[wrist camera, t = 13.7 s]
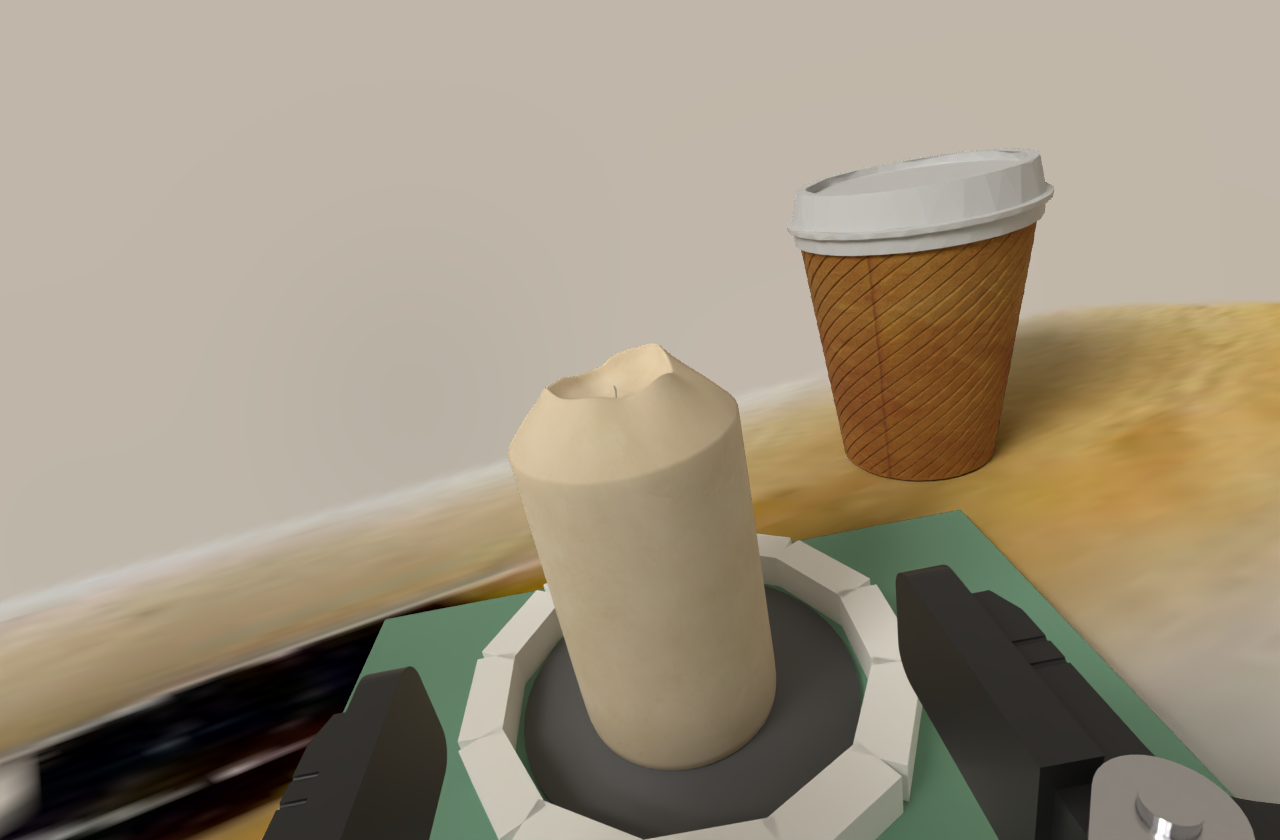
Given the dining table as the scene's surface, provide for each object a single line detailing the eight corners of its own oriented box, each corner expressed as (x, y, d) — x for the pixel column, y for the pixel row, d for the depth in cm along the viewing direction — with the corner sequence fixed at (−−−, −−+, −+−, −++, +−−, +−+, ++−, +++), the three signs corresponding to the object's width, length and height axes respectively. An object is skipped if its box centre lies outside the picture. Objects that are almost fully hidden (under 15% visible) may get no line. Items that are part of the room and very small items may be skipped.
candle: (676, 599, 22) (616, 320, 18) (817, 669, 19) (780, 335, 15) (550, 706, 19) (445, 395, 15) (689, 818, 15) (597, 440, 11)
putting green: (87, 1322, 10) (27, 1282, 10) (391, 625, 25) (375, 591, 25) (1494, 1098, 10) (1535, 1040, 9) (957, 518, 25) (957, 479, 24)
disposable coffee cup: (916, 387, 35) (910, 153, 31) (1091, 446, 27) (1121, 138, 22) (769, 446, 33) (738, 198, 28) (916, 532, 24) (907, 200, 20)
